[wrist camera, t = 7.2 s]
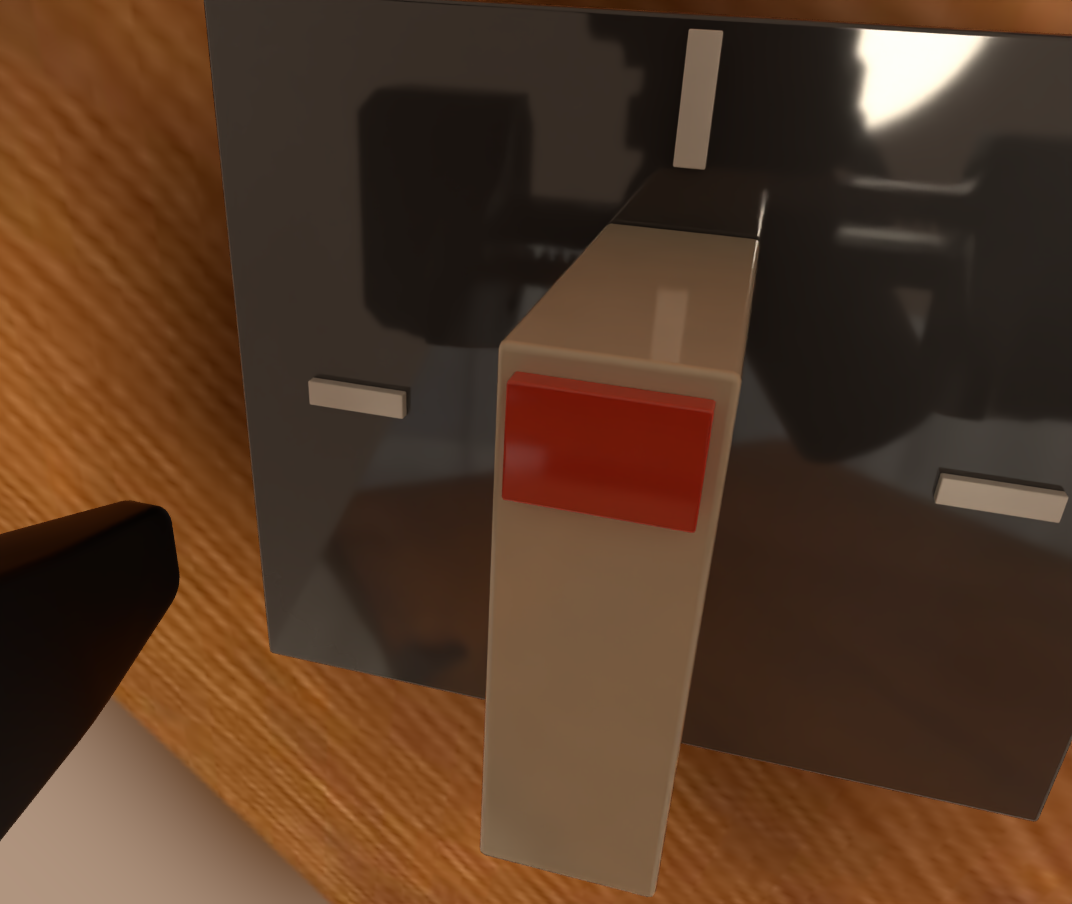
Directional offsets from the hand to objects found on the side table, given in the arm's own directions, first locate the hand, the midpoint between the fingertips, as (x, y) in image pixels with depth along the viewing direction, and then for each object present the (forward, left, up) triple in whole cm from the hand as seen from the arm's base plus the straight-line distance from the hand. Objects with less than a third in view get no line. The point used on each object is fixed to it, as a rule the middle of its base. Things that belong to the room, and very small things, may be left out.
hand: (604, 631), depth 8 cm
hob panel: (0, 0, -7) cm, 7 cm away
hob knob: (0, 0, -4) cm, 4 cm away
